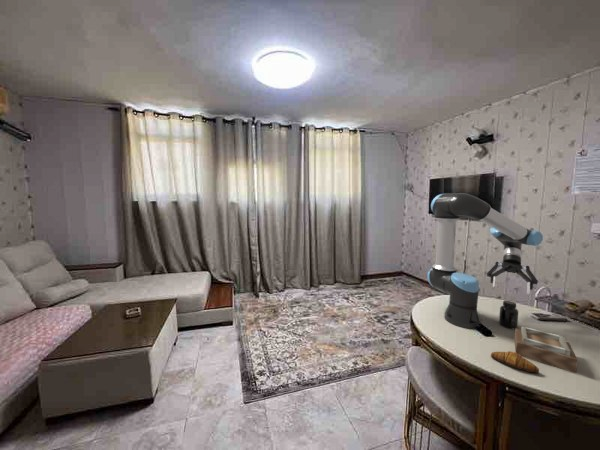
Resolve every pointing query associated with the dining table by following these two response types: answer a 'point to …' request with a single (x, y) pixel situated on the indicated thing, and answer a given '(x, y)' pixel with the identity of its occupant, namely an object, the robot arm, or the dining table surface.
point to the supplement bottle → (508, 315)
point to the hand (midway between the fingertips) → (510, 291)
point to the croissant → (515, 361)
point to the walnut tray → (545, 348)
